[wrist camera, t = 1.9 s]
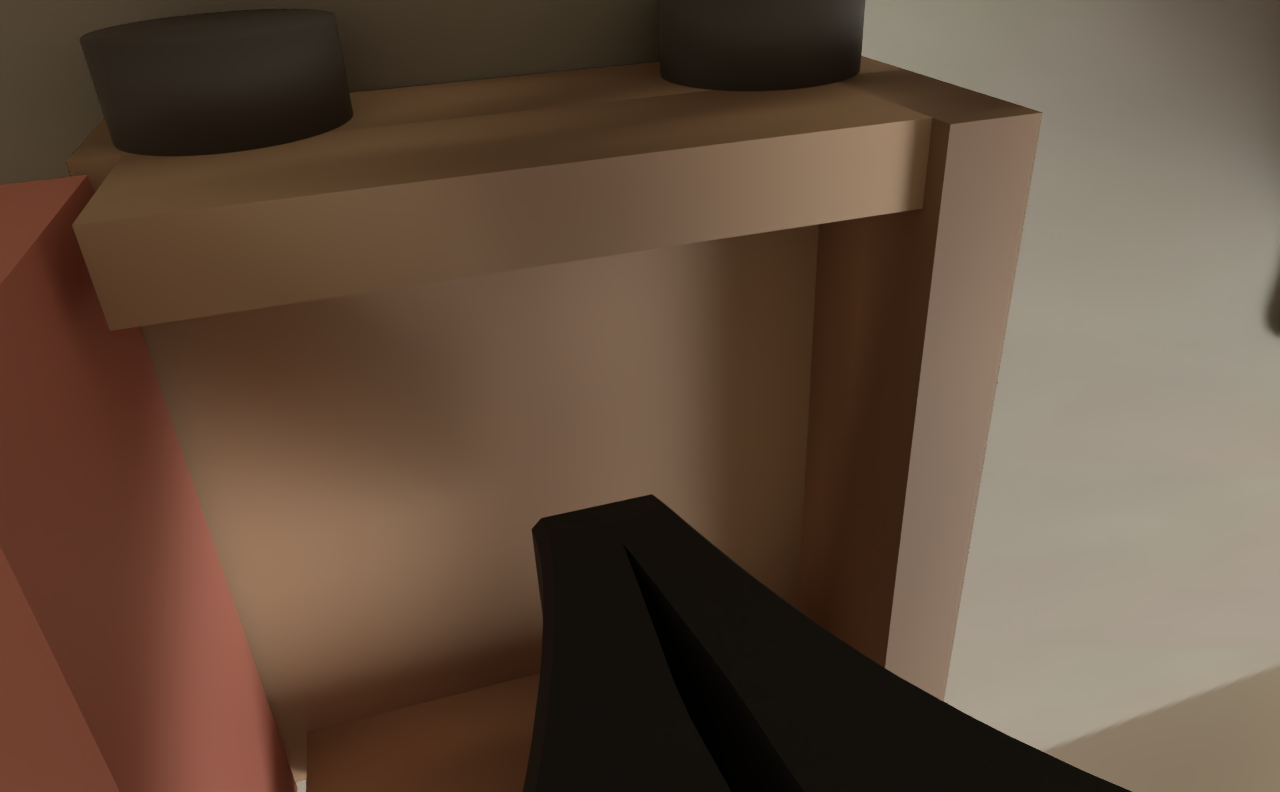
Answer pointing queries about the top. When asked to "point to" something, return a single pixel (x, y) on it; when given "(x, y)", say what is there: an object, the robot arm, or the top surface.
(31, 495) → the panel
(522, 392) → the box
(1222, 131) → the top surface
